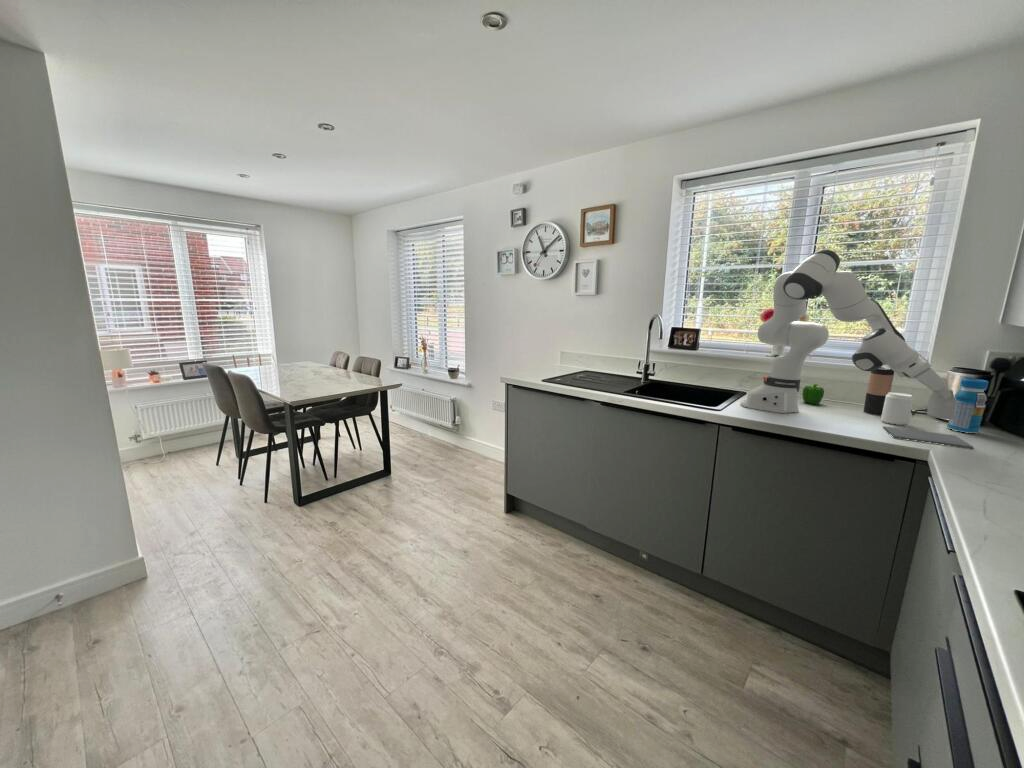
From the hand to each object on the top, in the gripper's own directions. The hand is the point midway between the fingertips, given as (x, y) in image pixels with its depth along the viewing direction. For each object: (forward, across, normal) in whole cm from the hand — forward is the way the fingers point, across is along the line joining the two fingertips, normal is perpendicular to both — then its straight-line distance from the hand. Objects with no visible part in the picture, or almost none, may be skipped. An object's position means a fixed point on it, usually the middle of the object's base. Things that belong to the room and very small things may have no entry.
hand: (943, 394), depth 141 cm
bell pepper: (-12, -42, -33) cm, 55 cm away
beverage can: (+7, -20, -16) cm, 27 cm away
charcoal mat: (+10, -1, -13) cm, 17 cm away
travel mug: (+4, -36, -18) cm, 41 cm away
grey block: (+6, 0, -6) cm, 8 cm away
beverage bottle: (+22, -22, -3) cm, 31 cm away
